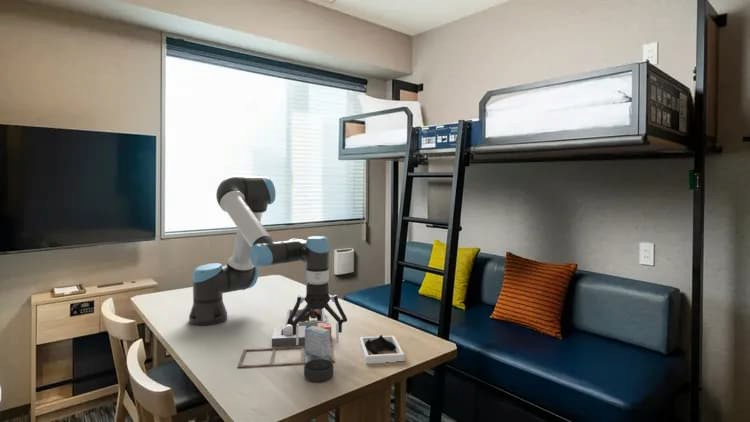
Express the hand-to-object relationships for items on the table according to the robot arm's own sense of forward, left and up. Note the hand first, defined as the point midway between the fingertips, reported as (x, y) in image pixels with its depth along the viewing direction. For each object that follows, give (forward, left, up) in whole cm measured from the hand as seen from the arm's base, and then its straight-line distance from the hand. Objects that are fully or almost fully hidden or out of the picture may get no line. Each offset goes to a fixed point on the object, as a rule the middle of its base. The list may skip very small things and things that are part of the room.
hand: (317, 342), depth 144 cm
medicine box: (0, 0, -4) cm, 4 cm away
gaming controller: (+22, -1, -5) cm, 22 cm away
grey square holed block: (-10, +15, -4) cm, 19 cm away
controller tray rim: (+22, -1, -4) cm, 22 cm away
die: (+3, +15, -4) cm, 16 cm away
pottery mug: (-2, +33, -4) cm, 33 cm away
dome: (-10, +15, -4) cm, 18 cm away
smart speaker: (0, -16, -5) cm, 17 cm away
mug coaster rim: (-4, +35, -4) cm, 35 cm away
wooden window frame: (-10, 0, -4) cm, 11 cm away
